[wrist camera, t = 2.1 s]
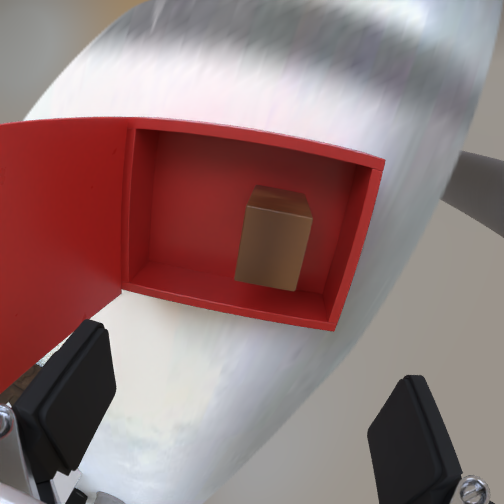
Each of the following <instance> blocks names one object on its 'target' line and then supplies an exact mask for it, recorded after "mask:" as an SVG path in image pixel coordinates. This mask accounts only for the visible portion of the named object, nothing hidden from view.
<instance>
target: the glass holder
mask: <svg viewBox="0 0 504 504" xmlns="http://www.w3.org/2000/svg"><path fill="white" fill-rule="evenodd" d="M94 504H125V503H124V502H123V501H121V500H120V499H118V498H116V497H114V496H112V495H109V494H107V493H104V492H97V498H96V500H95V502H94Z"/></svg>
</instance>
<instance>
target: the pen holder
mask: <svg viewBox="0 0 504 504" xmlns="http://www.w3.org/2000/svg"><path fill="white" fill-rule="evenodd" d="M86 500H87V496H86V495H85V494H84V493H82V492H81V491H79V490H78V489H76V488H74V489H73V490H72V492H71V494H70V496H69V497H68V499H67V501H66V503H65V504H85V503H86Z"/></svg>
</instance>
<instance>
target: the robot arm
mask: <svg viewBox="0 0 504 504" xmlns="http://www.w3.org/2000/svg"><path fill="white" fill-rule="evenodd" d="M115 393H116V381H115V375H114V369H113V363H112V356H111V349H110V341H109V333H108V330H107V329H104V325H103V324H102V323H99V322H96V321H93V320H89V319H85V320H84V321H83V322H82V323H81V324H80V325H79V326H78V327H77V329H76V330H75V331H74V332H73V333H72V335H71V336H70V337H69V338H68V339H67V340H66V342H65V343H64V344H63V345H62V347H61V348H60V349H59V350H58V351H56V352H55V353H54V354H53V355H52V356H51V357H50V358H49V360H48V361H47V362H46V363H45V365H44V366H43V367H42V368H41V370H40V371H39V372H38V373H37V375H36V376H35V377H34V378H33V380H32V381H31V382H30V384H29V385H28V386H27V388H26V389H25V390H24V391H23V393H22V394H21V395H20V397H19V398H18V399H17V401H16V402H15V403H14V405H13V406H12V408H10V407H9V406H7V405H6V404H2V403H0V504H61V502H60V499H59V496H58V493H57V490H56V487H55V484H54V481H53V478H54V477H55V475H56V473H57V471H58V472H60V473H62V474H64V475H66V476H69V474H70V472H71V470H72V471H76V470H77V468H78V466H79V464H80V462H81V460H82V458H83V456H84V454H85V452H86V450H87V448H88V446H89V444H90V442H91V440H92V438H93V436H94V434H95V432H96V430H97V428H98V426H99V424H100V422H101V421H102V419H103V417H104V415H105V413H106V411H107V409H108V407H109V405H110V403H111V401H112V400H113V398H114V396H115ZM367 438H368V443H369V448H370V453H371V458H372V464H373V469H374V475H375V479H376V486H377V492H378V498H379V504H495V503H493V502H491V501H490V489H489V487H488V485H487V483H486V482H485V481H484V480H483V479H481V478H480V477H478V476H475V475H469V476H466V477H464V478H463V479H462V478H461V474H462V473H463V472H462V469H461V467H460V464H459V461H458V458H457V455H456V453H455V450H454V447H453V445H452V442H451V440H450V437H449V434H448V432H447V429H446V427H445V424H444V422H443V419H442V417H441V415H440V412H439V410H438V407H437V405H436V403H435V400H434V398H433V396H432V394H431V391H430V389H429V387H428V385H427V382H426V380H425V378H424V377H423V376H421V375H406V376H405V377H404V378H403V379H401V380H399V382H398V383H397V385H396V387H395V388H394V390H393V392H392V393H391V395H390V396H389V398H388V400H387V401H386V403H385V404H384V406H383V408H382V409H381V411H380V412H379V414H378V415H377V417H376V418H375V420H374V421H373V422H372V424H371V426H370V427H369V429H368V433H367Z"/></svg>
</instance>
